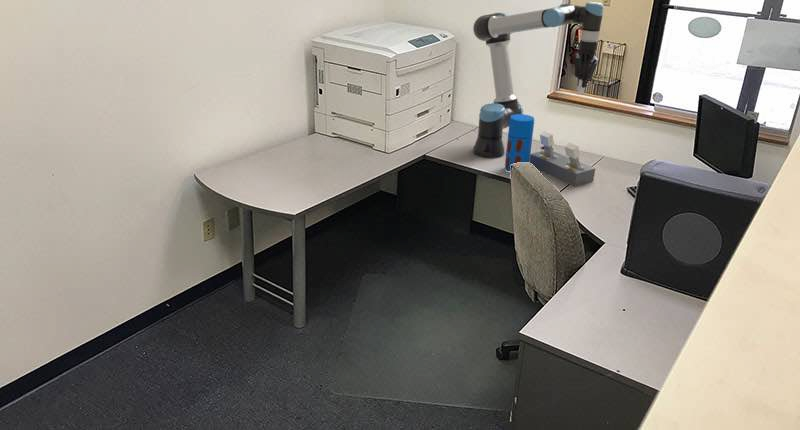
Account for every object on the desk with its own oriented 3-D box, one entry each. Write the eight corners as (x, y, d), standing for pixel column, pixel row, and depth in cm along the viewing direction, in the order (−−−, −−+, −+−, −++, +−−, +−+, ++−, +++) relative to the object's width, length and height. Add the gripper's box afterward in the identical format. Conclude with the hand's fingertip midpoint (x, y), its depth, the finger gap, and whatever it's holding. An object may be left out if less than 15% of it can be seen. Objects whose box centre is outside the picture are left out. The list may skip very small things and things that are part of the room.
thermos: (527, 175, 281) (534, 122, 270) (503, 173, 283) (509, 120, 272) (528, 167, 291) (534, 115, 280) (505, 164, 292) (510, 113, 281)
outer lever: (568, 165, 277) (564, 146, 270) (573, 161, 278) (569, 142, 271) (577, 169, 273) (573, 150, 267) (582, 165, 274) (578, 146, 268)
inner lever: (542, 154, 289) (539, 134, 283) (547, 151, 290) (544, 131, 284) (550, 157, 285) (547, 137, 279) (555, 154, 286) (552, 134, 280)
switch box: (529, 165, 292) (530, 151, 289) (547, 161, 298) (549, 146, 295) (574, 186, 271) (577, 171, 268) (593, 181, 277) (595, 165, 274)
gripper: (607, 42, 266) (597, 96, 276) (583, 36, 275) (574, 89, 286) (595, 43, 262) (586, 98, 272) (571, 38, 271) (563, 91, 282)
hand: (580, 94), depth 279 cm, fingers closed
